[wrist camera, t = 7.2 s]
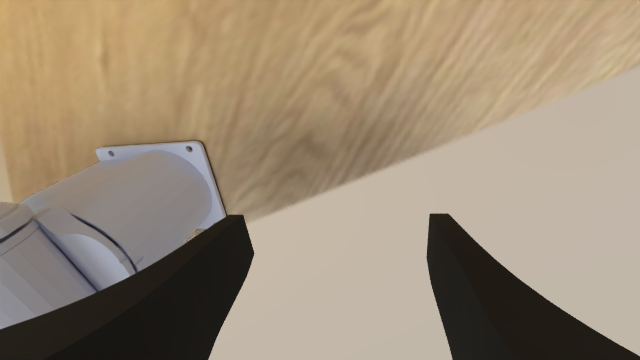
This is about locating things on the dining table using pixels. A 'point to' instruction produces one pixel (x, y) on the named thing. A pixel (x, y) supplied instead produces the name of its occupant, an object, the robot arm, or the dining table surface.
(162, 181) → the robot arm
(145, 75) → the dining table surface
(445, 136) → the dining table surface
